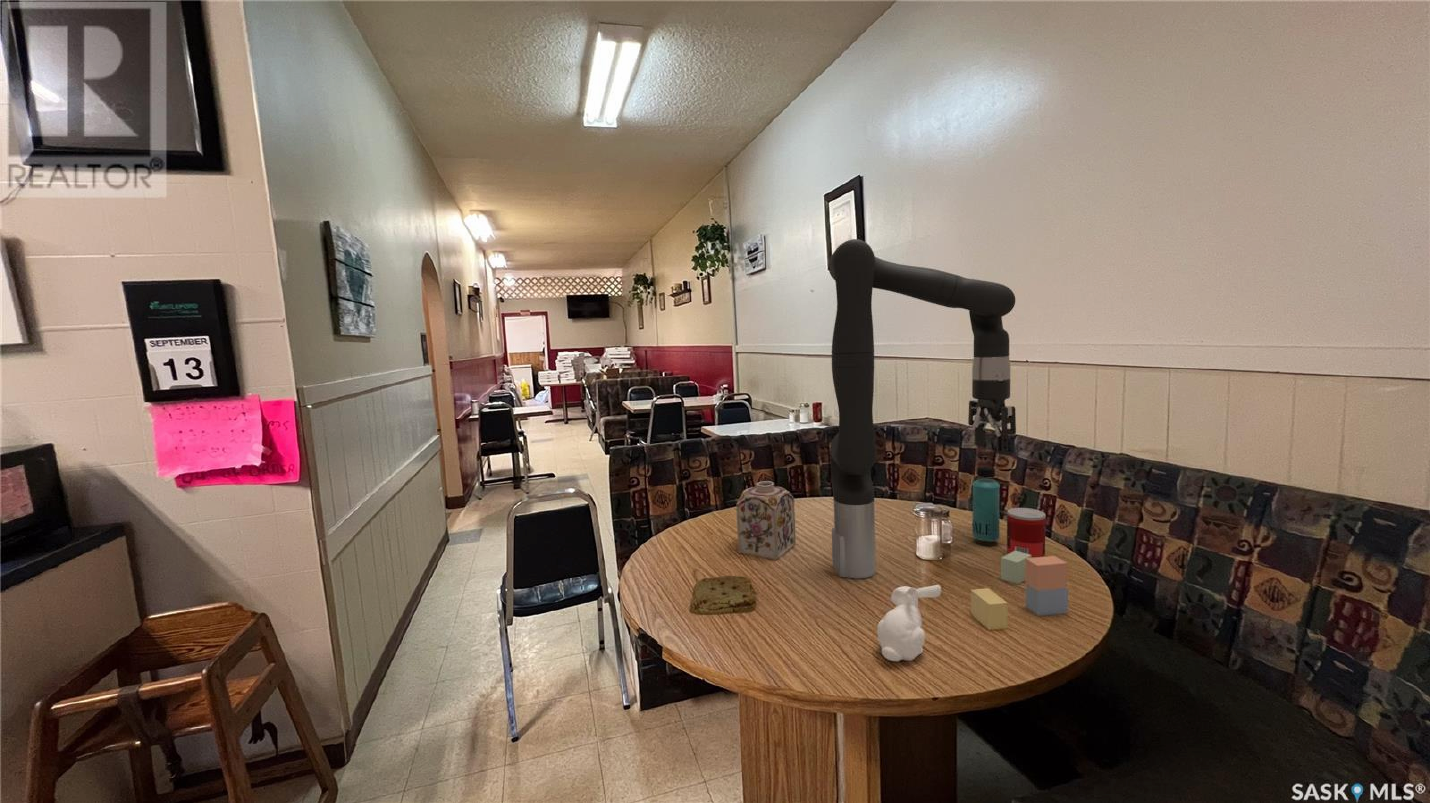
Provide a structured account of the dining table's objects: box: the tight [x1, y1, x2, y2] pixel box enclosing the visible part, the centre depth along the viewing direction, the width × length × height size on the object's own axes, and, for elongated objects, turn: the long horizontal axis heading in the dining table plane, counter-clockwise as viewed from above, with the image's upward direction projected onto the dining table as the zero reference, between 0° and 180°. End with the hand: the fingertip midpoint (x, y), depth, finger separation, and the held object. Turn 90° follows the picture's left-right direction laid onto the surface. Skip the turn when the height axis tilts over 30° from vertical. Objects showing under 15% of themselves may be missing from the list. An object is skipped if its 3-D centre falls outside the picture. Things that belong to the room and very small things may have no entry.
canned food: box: [1006, 507, 1047, 558], centre depth 129 cm, size 8×8×11 cm
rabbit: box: [876, 584, 942, 662], centre depth 93 cm, size 12×9×12 cm
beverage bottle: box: [971, 466, 1001, 542], centre depth 138 cm, size 6×7×20 cm
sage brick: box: [1000, 551, 1031, 585], centre depth 119 cm, size 6×4×5 cm, turn 124°
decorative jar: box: [735, 480, 797, 561], centre depth 141 cm, size 12×12×18 cm
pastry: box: [689, 575, 757, 616], centre depth 116 cm, size 17×17×3 cm
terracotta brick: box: [1024, 555, 1068, 591], centre depth 104 cm, size 6×4×5 cm, turn 94°
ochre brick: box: [970, 587, 1009, 631], centre depth 102 cm, size 6×4×5 cm, turn 5°
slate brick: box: [1025, 583, 1069, 617], centre depth 105 cm, size 6×4×5 cm, turn 95°
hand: (990, 449), depth 121 cm, fingers open, 8 cm apart
